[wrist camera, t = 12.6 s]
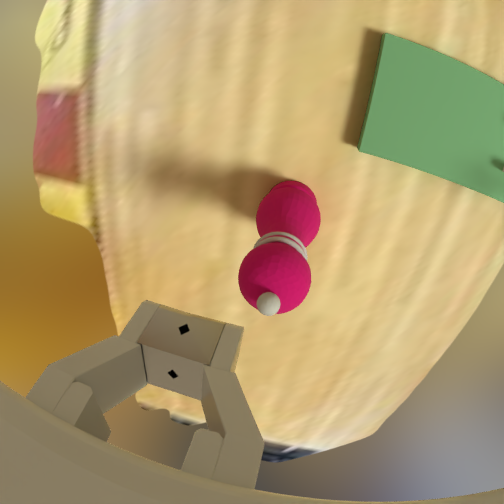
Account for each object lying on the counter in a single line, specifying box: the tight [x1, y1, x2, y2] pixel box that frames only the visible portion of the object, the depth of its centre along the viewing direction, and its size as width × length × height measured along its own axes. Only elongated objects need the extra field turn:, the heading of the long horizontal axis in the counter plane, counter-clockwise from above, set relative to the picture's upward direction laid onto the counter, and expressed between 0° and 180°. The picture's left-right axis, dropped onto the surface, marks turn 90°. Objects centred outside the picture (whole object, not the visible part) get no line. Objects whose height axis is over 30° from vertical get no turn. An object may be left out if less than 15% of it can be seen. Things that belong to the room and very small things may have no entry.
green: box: [357, 33, 504, 203], centre depth 24 cm, size 16×28×14 cm, turn 82°
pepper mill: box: [238, 181, 320, 316], centre depth 32 cm, size 7×7×20 cm
